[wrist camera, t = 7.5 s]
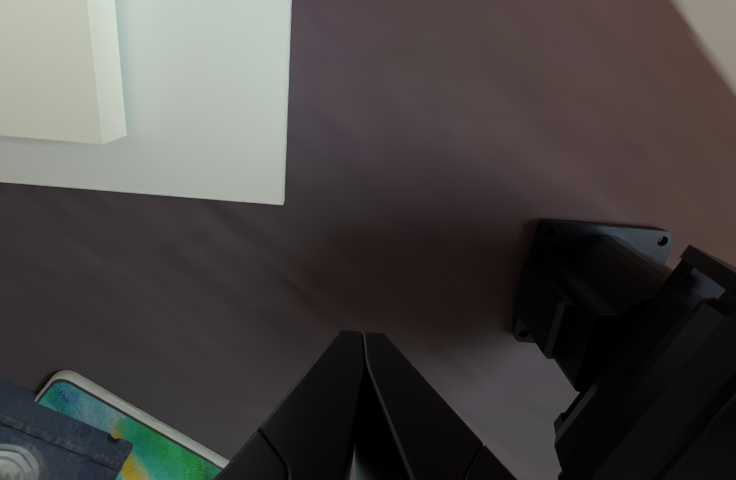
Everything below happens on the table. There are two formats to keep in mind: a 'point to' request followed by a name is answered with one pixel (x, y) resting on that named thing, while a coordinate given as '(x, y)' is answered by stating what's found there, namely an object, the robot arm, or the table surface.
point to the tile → (60, 71)
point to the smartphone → (132, 431)
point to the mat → (184, 107)
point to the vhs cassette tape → (53, 442)
